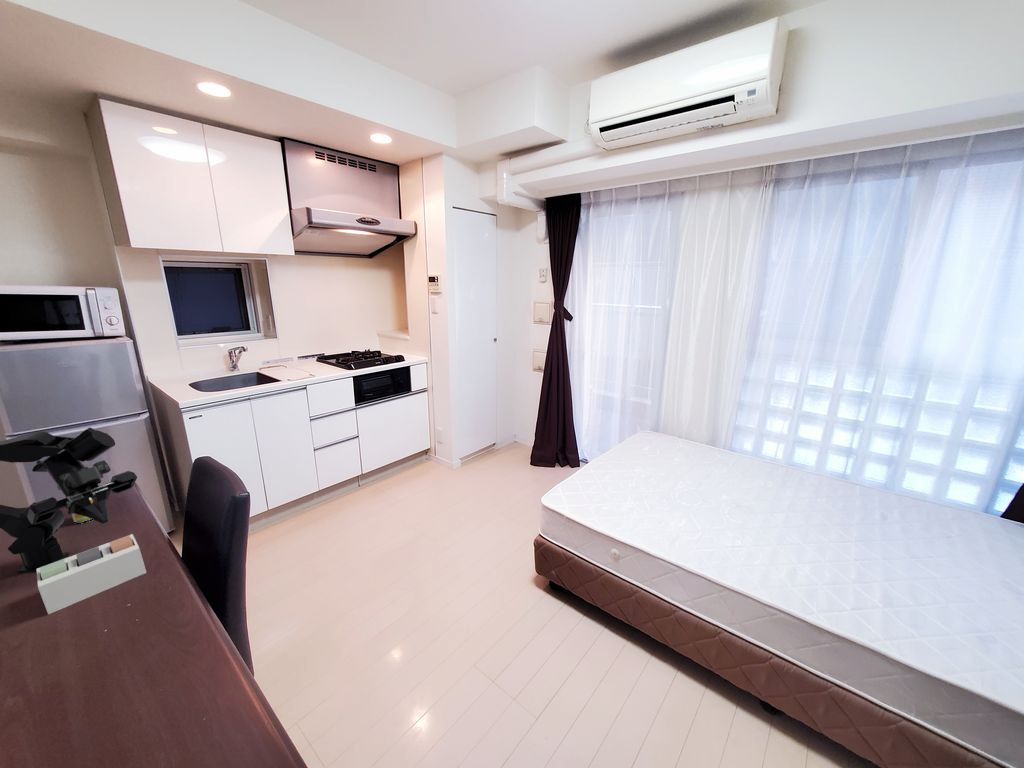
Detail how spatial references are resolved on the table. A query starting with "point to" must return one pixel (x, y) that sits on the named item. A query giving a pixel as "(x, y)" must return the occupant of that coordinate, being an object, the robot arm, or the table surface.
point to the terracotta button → (121, 544)
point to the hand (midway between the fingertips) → (105, 522)
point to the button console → (90, 576)
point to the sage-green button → (53, 569)
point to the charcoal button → (88, 556)
